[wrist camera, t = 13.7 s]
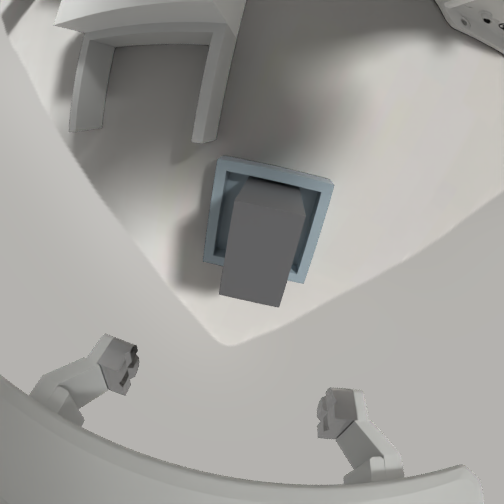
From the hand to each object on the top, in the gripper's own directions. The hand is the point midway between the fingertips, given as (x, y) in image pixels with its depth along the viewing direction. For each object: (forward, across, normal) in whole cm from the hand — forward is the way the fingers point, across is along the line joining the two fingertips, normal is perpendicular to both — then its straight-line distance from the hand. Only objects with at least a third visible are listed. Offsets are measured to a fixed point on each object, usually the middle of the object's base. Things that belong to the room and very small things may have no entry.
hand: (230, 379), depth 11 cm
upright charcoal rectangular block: (+20, 0, 0) cm, 20 cm away
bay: (+21, +14, -15) cm, 30 cm away
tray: (+21, 0, +1) cm, 21 cm away
